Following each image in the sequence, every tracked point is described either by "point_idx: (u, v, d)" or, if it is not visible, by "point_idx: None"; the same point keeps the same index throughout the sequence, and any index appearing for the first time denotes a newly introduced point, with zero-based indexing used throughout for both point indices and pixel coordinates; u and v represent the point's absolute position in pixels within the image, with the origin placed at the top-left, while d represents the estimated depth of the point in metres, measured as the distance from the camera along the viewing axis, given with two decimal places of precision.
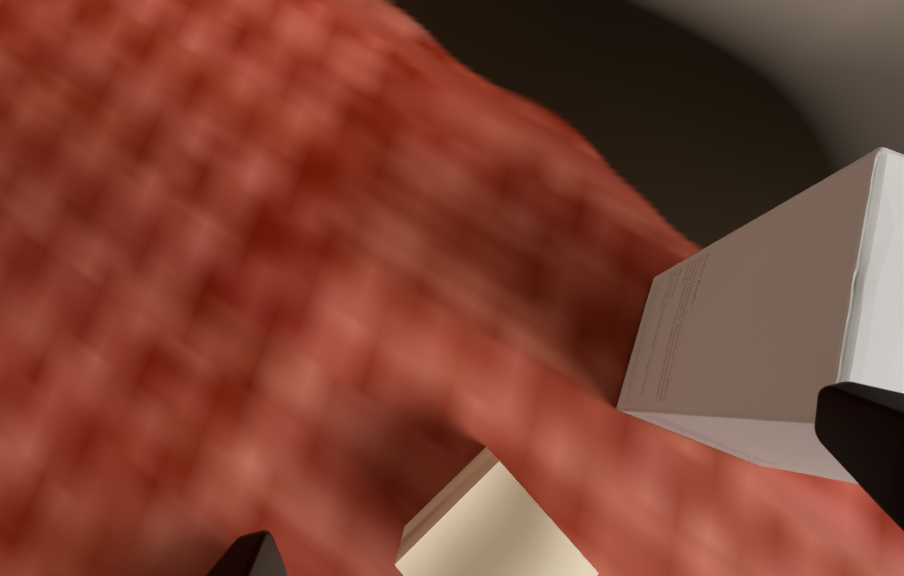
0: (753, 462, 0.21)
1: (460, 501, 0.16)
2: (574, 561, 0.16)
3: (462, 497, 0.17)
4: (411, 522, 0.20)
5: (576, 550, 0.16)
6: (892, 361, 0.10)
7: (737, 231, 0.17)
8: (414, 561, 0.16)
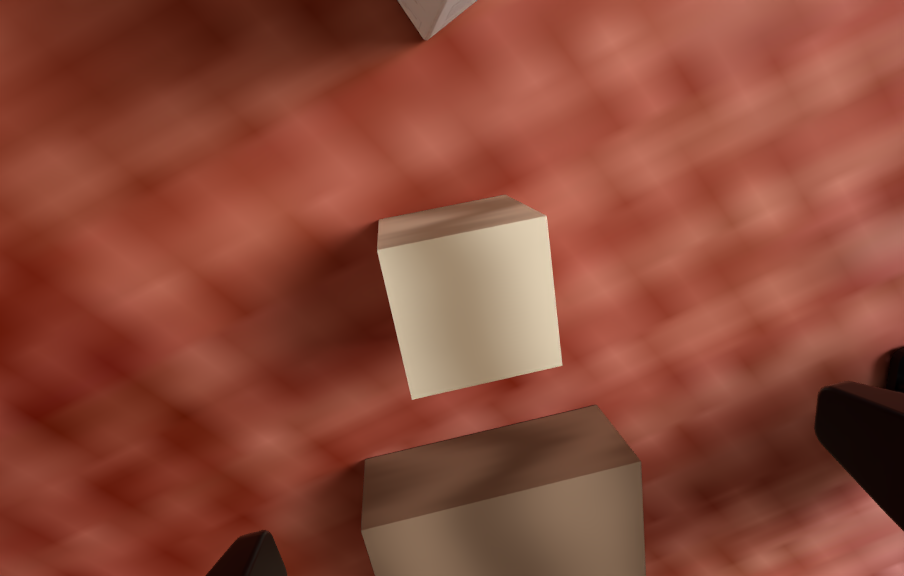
0: None
1: (394, 312, 0.14)
2: (520, 232, 0.14)
3: (391, 308, 0.14)
4: None
5: (512, 224, 0.13)
6: None
7: None
8: (420, 381, 0.15)
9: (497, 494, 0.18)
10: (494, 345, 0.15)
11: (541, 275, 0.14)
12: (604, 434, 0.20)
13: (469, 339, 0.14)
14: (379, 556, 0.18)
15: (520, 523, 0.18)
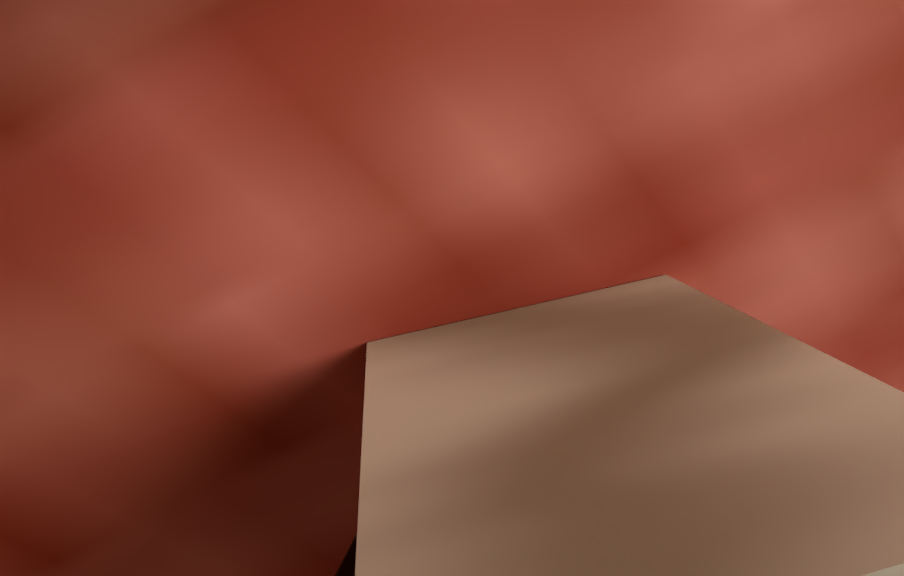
0: None
1: None
2: None
3: None
4: None
5: None
6: None
7: None
8: None
9: None
10: None
11: None
12: None
13: None
14: None
15: None
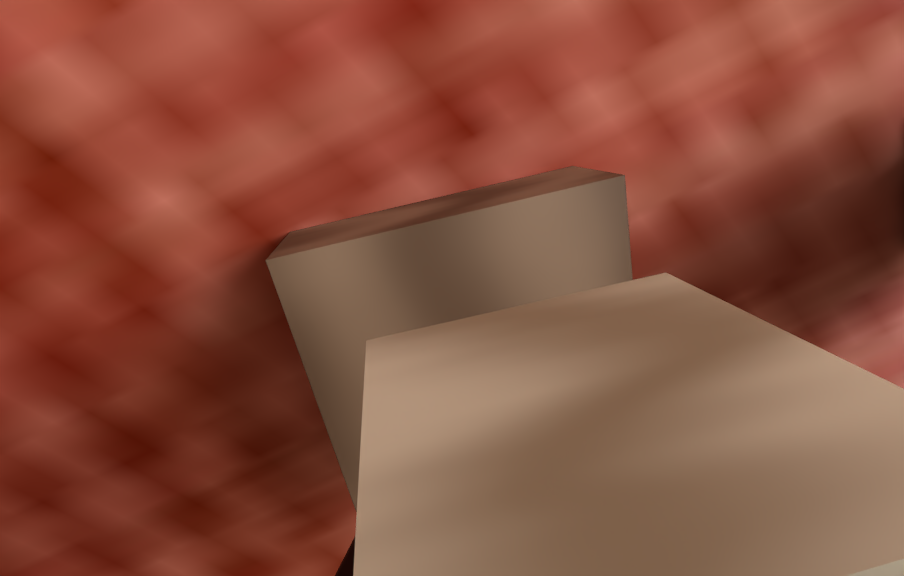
0: None
1: None
2: None
3: None
4: None
5: None
6: None
7: None
8: None
9: (442, 217, 0.14)
10: None
11: None
12: (580, 173, 0.16)
13: None
14: (294, 302, 0.14)
15: (474, 262, 0.14)
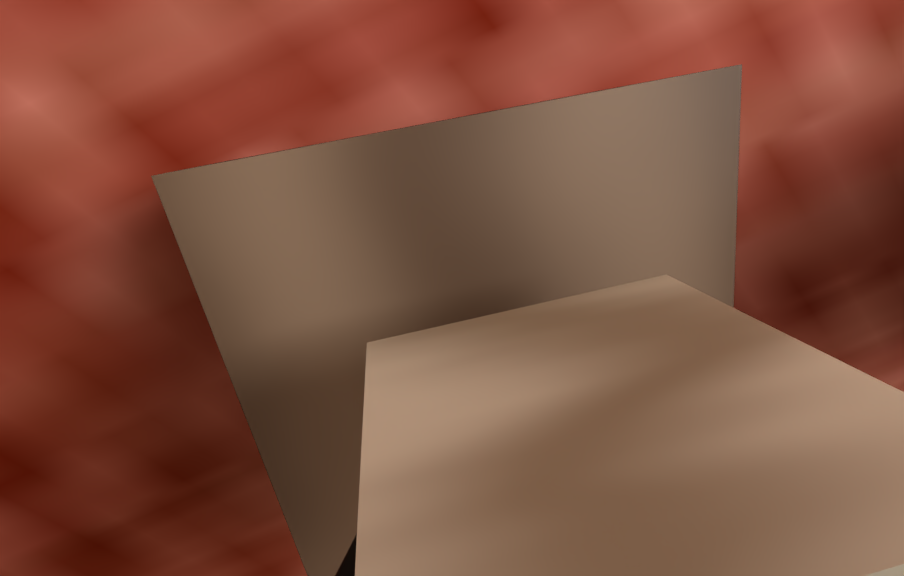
0: None
1: None
2: None
3: None
4: None
5: None
6: None
7: None
8: None
9: (450, 119, 0.09)
10: None
11: None
12: None
13: None
14: (203, 251, 0.08)
15: (498, 198, 0.09)
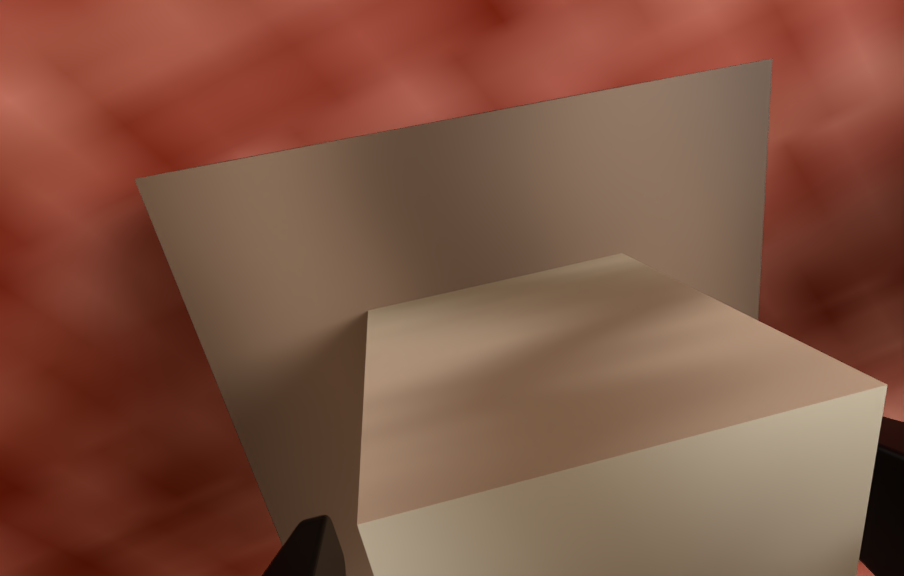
0: None
1: None
2: (802, 436, 0.04)
3: None
4: None
5: (788, 419, 0.04)
6: None
7: None
8: None
9: (458, 118, 0.08)
10: None
11: (834, 536, 0.05)
12: None
13: None
14: (191, 260, 0.08)
15: (510, 202, 0.08)
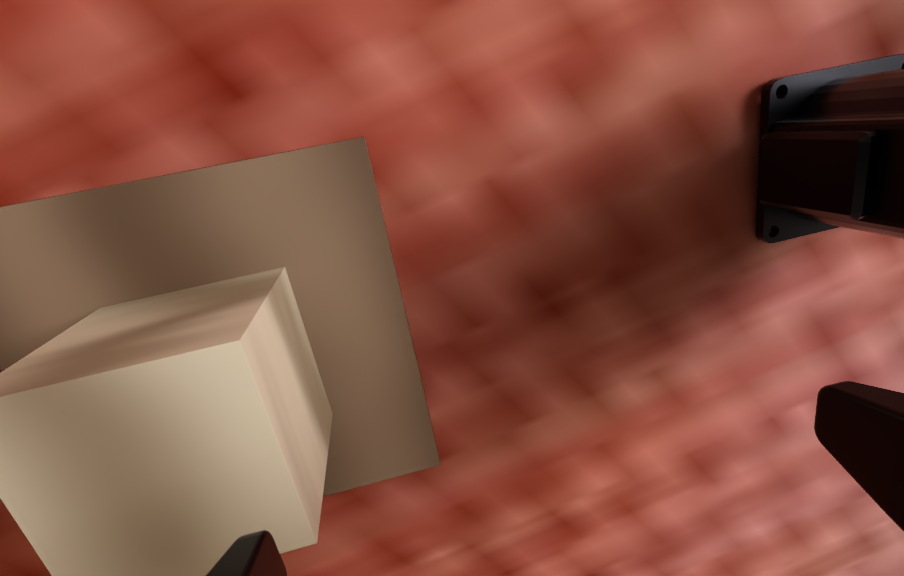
0: None
1: (5, 497, 0.09)
2: (198, 367, 0.08)
3: None
4: None
5: (180, 357, 0.08)
6: None
7: None
8: None
9: (144, 179, 0.12)
10: (197, 526, 0.09)
11: (252, 425, 0.09)
12: None
13: (151, 524, 0.09)
14: None
15: (191, 234, 0.12)
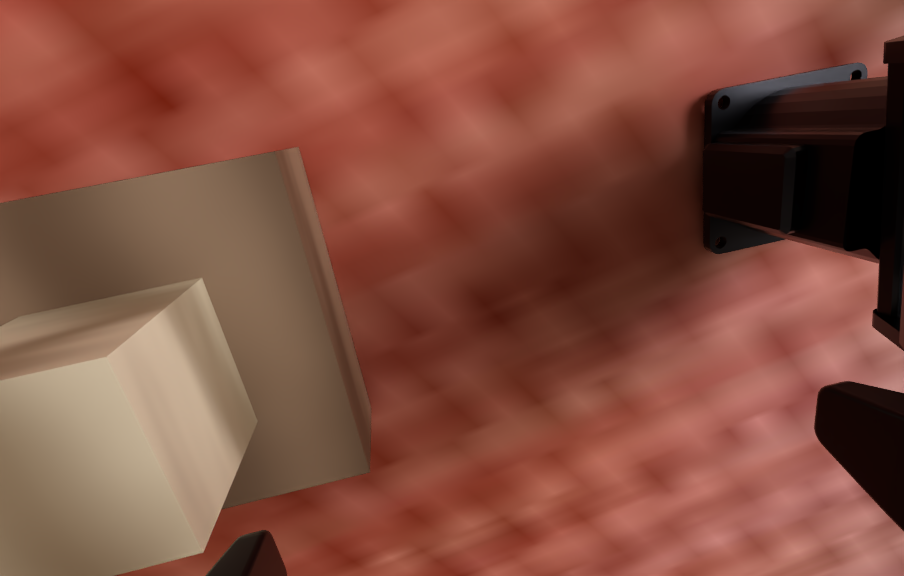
0: None
1: None
2: (67, 382, 0.09)
3: None
4: None
5: (47, 373, 0.09)
6: None
7: None
8: None
9: (57, 192, 0.12)
10: (80, 534, 0.10)
11: (126, 439, 0.09)
12: None
13: (33, 531, 0.10)
14: None
15: (106, 245, 0.13)
